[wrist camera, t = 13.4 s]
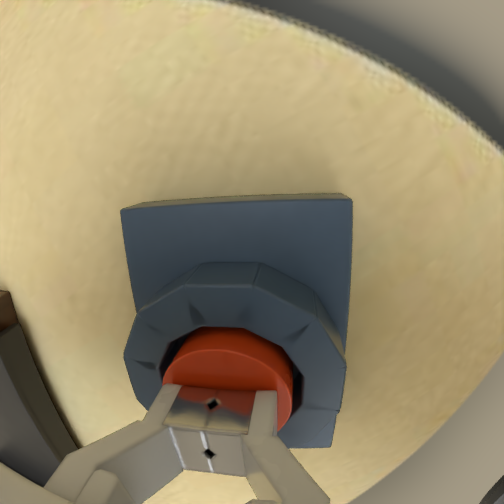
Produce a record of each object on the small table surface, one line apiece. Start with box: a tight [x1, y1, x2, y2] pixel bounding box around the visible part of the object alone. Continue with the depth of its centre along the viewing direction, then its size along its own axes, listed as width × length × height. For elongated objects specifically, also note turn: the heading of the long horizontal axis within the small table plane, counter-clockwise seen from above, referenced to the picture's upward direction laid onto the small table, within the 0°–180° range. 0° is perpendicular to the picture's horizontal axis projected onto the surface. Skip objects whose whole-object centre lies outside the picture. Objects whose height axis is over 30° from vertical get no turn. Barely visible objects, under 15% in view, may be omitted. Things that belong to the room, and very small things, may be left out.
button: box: [162, 327, 293, 432], centre depth 9 cm, size 4×4×2 cm
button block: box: [120, 193, 353, 449], centre depth 10 cm, size 10×7×4 cm
